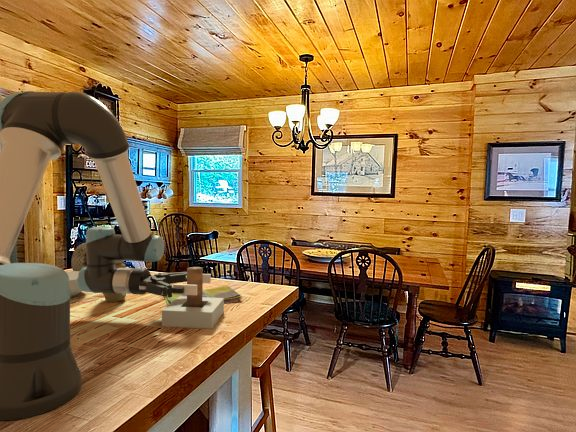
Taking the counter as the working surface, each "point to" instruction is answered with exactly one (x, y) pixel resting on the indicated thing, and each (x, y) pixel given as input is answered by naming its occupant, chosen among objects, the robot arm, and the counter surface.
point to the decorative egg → (79, 258)
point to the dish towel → (213, 295)
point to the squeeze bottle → (115, 296)
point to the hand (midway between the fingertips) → (204, 284)
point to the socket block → (193, 313)
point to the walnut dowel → (195, 279)
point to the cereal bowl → (73, 282)
